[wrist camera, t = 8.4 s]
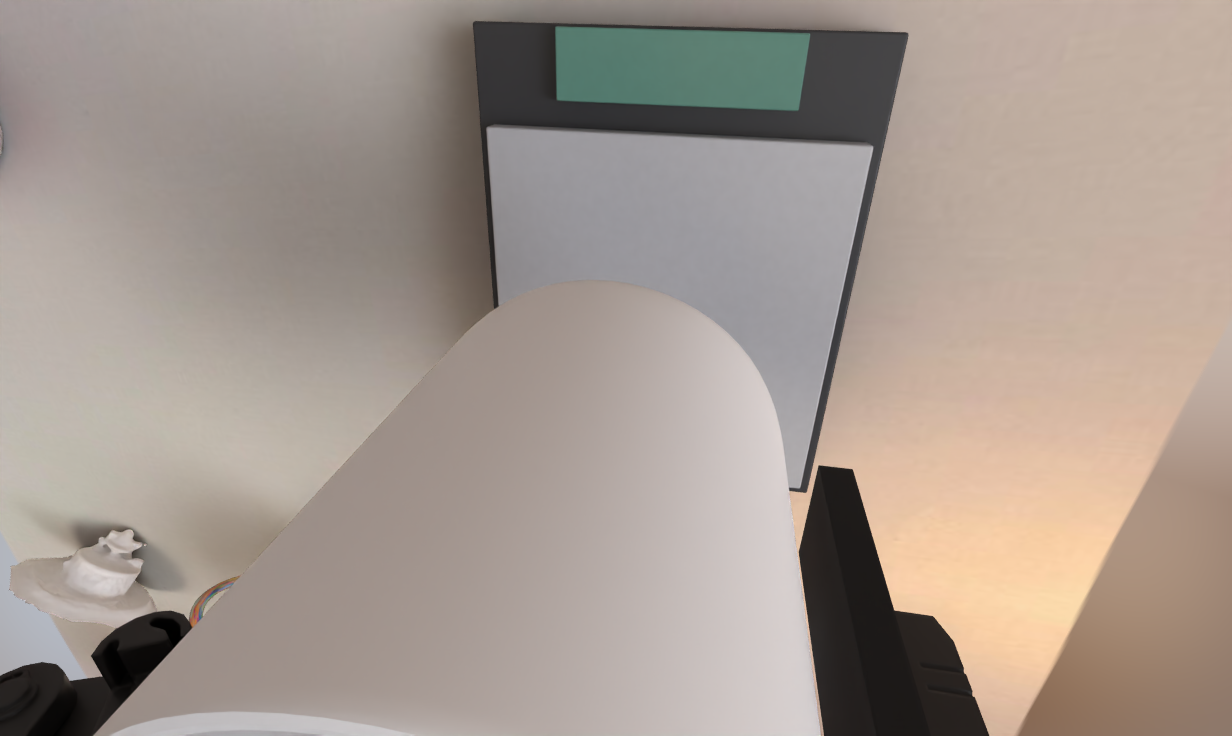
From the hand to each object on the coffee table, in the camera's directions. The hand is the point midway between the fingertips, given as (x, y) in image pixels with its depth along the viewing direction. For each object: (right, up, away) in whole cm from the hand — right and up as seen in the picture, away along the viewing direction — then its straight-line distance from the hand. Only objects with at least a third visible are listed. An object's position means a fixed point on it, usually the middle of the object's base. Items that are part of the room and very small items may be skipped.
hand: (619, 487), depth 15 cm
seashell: (-33, -10, +26) cm, 43 cm away
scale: (+2, +7, +11) cm, 13 cm away
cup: (+1, 0, +1) cm, 1 cm away
